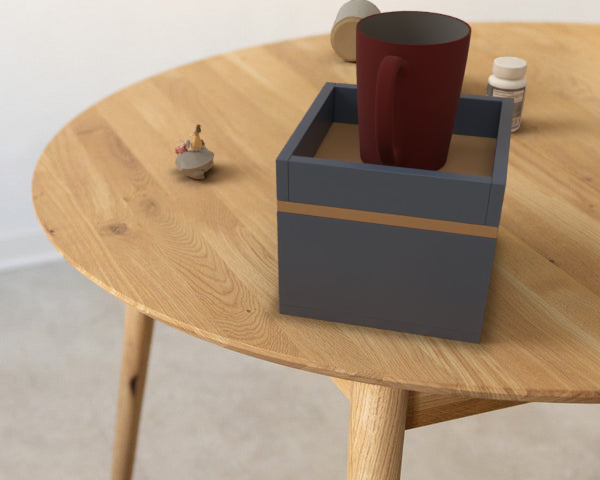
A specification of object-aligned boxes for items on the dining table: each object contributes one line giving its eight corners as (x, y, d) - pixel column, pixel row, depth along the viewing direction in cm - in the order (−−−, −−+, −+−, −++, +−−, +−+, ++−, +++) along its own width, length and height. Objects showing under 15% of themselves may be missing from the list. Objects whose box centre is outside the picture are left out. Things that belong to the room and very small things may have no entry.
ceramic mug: (327, 62, 119) (329, 11, 115) (335, 46, 126) (337, -4, 121) (397, 67, 118) (401, 15, 113) (401, 50, 124) (405, 0, 120)
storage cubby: (491, 239, 77) (514, 98, 69) (479, 344, 64) (506, 184, 55) (323, 218, 81) (326, 81, 72) (279, 313, 67) (275, 159, 59)
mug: (433, 206, 60) (448, 64, 53) (324, 187, 63) (326, 49, 56) (465, 144, 69) (481, 17, 63) (369, 130, 72) (375, 6, 65)
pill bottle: (485, 117, 102) (494, 53, 97) (522, 122, 101) (533, 57, 96) (478, 130, 99) (487, 65, 94) (515, 136, 97) (527, 70, 92)
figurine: (204, 186, 86) (200, 135, 83) (168, 180, 88) (162, 130, 84) (222, 166, 91) (219, 117, 87) (188, 161, 92) (183, 112, 88)
